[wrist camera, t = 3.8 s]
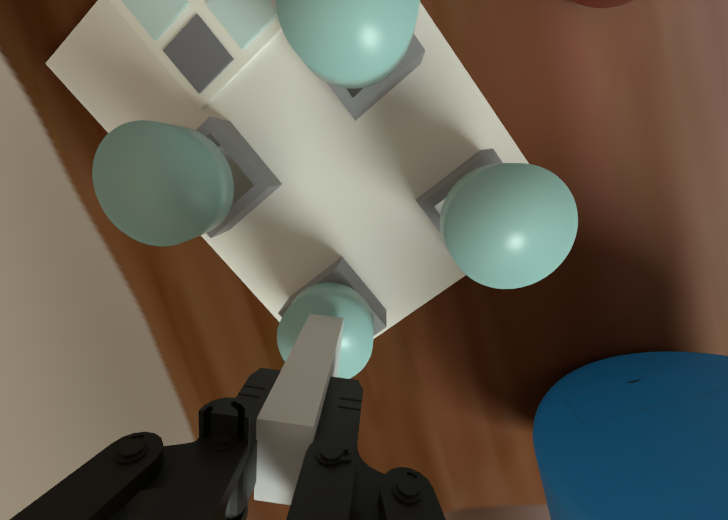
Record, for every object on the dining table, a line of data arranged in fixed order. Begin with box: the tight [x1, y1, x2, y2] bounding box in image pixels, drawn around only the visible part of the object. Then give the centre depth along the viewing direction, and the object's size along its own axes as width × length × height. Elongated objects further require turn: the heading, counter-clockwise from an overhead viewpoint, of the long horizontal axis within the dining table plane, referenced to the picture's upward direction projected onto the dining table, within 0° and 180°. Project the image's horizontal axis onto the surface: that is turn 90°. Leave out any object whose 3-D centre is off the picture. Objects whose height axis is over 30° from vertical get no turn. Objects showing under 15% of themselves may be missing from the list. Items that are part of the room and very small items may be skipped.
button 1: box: [275, 0, 420, 89], centre depth 13 cm, size 4×4×4 cm
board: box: [45, 0, 529, 339], centre depth 17 cm, size 16×22×3 cm
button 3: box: [440, 163, 578, 289], centre depth 14 cm, size 4×4×4 cm
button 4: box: [277, 282, 374, 379], centre depth 18 cm, size 4×4×4 cm
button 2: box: [92, 120, 234, 246], centre depth 15 cm, size 4×4×4 cm
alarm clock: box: [533, 351, 728, 520], centre depth 15 cm, size 13×6×15 cm, turn 108°
